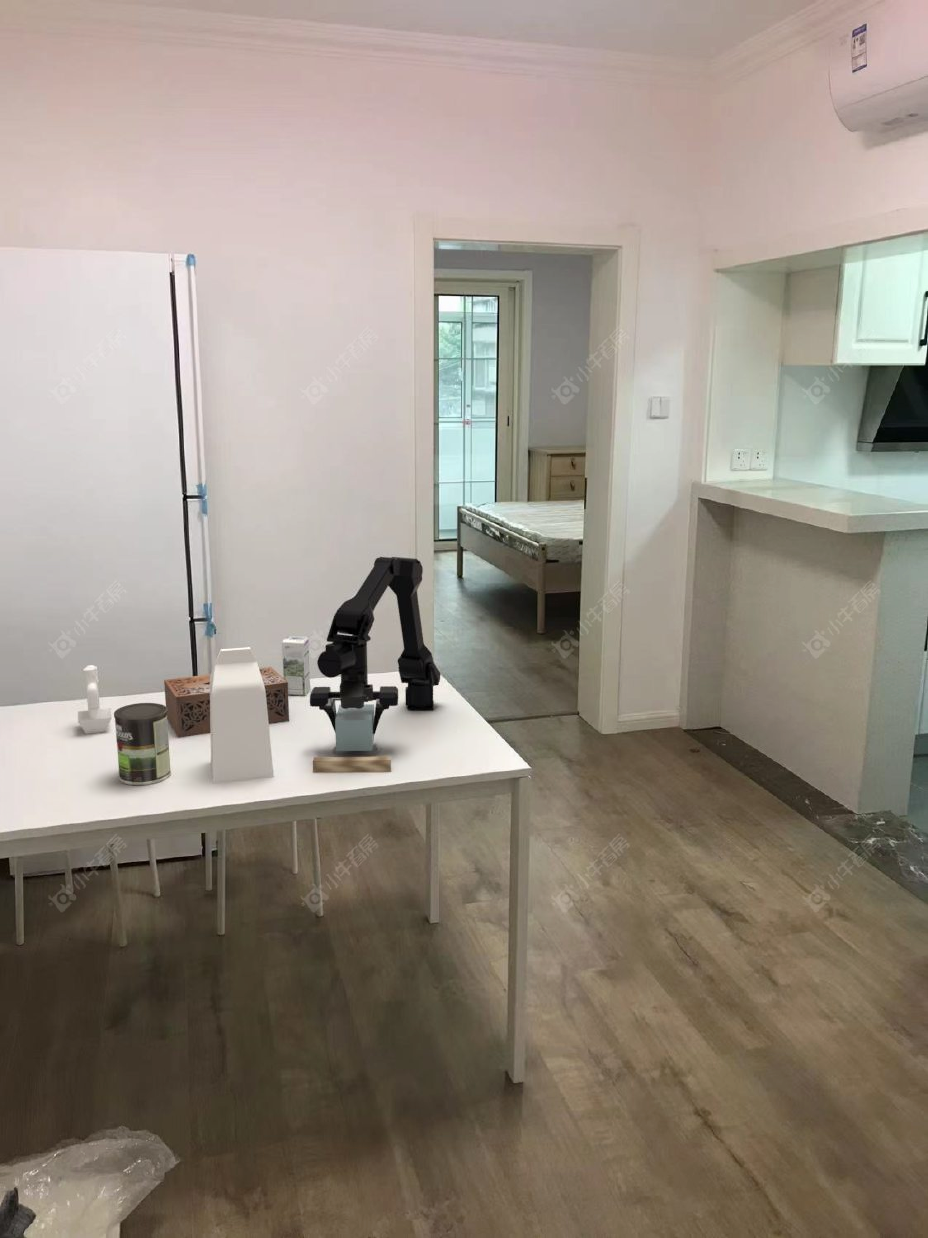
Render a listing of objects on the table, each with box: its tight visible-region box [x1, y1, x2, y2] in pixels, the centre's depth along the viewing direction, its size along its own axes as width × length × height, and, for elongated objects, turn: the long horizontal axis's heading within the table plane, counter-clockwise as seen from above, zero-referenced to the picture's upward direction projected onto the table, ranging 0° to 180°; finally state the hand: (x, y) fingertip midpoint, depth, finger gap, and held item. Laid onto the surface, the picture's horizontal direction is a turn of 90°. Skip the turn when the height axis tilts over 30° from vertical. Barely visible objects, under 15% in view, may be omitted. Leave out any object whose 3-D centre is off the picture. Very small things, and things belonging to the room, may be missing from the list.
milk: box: [209, 646, 274, 784], centre depth 205 cm, size 12×12×26 cm
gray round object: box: [332, 743, 380, 757], centre depth 218 cm, size 10×10×1 cm
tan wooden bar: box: [312, 756, 392, 773], centre depth 207 cm, size 16×2×2 cm, turn 92°
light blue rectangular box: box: [334, 703, 375, 751], centre depth 217 cm, size 8×11×7 cm
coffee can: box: [113, 702, 172, 786], centre depth 203 cm, size 10×10×14 cm
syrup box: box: [281, 636, 311, 697], centre depth 257 cm, size 6×6×14 cm
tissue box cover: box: [163, 666, 290, 739], centre depth 237 cm, size 26×14×10 cm, turn 117°
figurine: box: [77, 664, 112, 735], centre depth 229 cm, size 7×9×15 cm
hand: (355, 733), depth 218 cm, fingers closed on light blue rectangular box, 8 cm apart
